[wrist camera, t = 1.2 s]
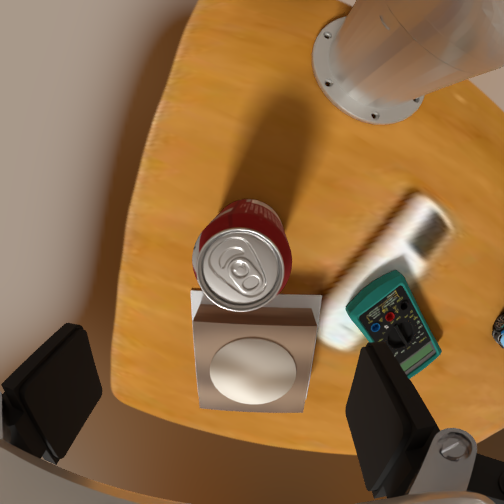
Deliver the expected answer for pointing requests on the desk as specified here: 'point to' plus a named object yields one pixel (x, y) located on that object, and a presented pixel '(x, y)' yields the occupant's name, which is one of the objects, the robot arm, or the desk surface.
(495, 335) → the toy car
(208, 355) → the plinth
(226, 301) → the soda can
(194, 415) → the desk surface
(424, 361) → the digital multimeter
